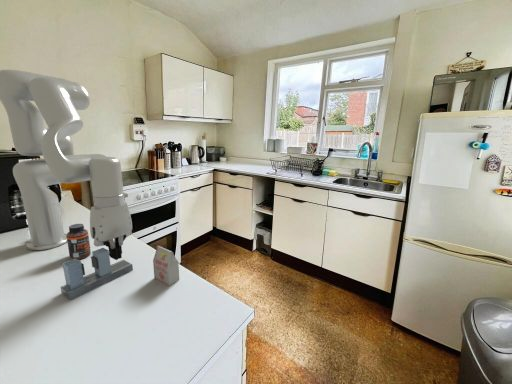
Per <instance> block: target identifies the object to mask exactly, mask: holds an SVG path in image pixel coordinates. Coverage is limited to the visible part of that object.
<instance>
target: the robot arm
mask: <svg viewBox="0 0 512 384" xmlns="http://www.w3.org/2000/svg"><path fill="white" fill-rule="evenodd" d="M90 100H91V97H90V94H89V93H88V91H87V89H86V88H85V87H84V86H83V84H80V83H78V82H75V81H72V80H68V79H65V78H64V79H63V78H60V77H55V76H49V75H44V74H38V73H35V72H30V71H29V72H28V71H23V70H18V69H17V70H16V69H0V102H1V104H2V106H3V107H4V109H5V112H6V114H7V117H8V118H7V119H8V124H9V128H10V133H11V138H12V142H13V146H14V149H15V151H16V152H17V153H18V154H19V155H21V156H27V157H41V156H43V158H42V159H41V158H40V159H27V160H22V161H20V162H19V161H18V162H17V163H16V164H15V165H14V166H13V167H12V175H13V178H14V180H15V183H16V184H17V186H18V188H19V192H20V194H21V198H22V203H23V207H24V212H25V216H26V222H27V227H28V231H29V236H30V240H29V241H27V243H26V248H27V250H30V251H42V250H49V249H54V248H57V247H60V246H62V245H64V244H66V243H67V233H65V231H64V224H63V220H62V214H61V208H60V207H61V206H60V203H59V201H60V200H59V198H58V195H57V194H56V193H55V192H54V191H53V190H51V189H50V188H49V186H52V185H59V184H75V183H81V182H82V183H83V182H87V181H90V184H91V191H92V199H93V206H91V207H90V211H89V212H90V213H89V231H90V237H91V238H92V239H93V246H94V247H97V248H98V247H103V246H105V247H107V248H108V250H109V257H110V258H111V259H113V260H115V261H117V260H118V261H119V259H122V258H123V257H122V254H123V250H122V248H123V247H122V246H123V245H124V241H125V240H126V238H128V237H130V236H131V235H132V234H133V231H132V230H133V221H132V217H131V216H132V215H131V213H130V209H129V206H128V202H127V201H126V199H125V198H128V196H129V194H128V193H127V192H124V184H123V175H122V164H121V161H120V159H119V158H117V157H115V156H106V155H105V154H100V153H89V154H75V151H74V143H73V140H72V138H71V136H73V135H75V134H77V133H78V132H80V131H81V130H82V129H83V127H84V121H83V118H82V117H81V116H80V113H79V112H78V111H84V110H86V109H88V108H89V106H90V102H91V101H90ZM33 102H34V103H35V105H34V104H33ZM44 122H45V123H46V125H47V127H48V128H46V127H45V123H44Z"/></svg>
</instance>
